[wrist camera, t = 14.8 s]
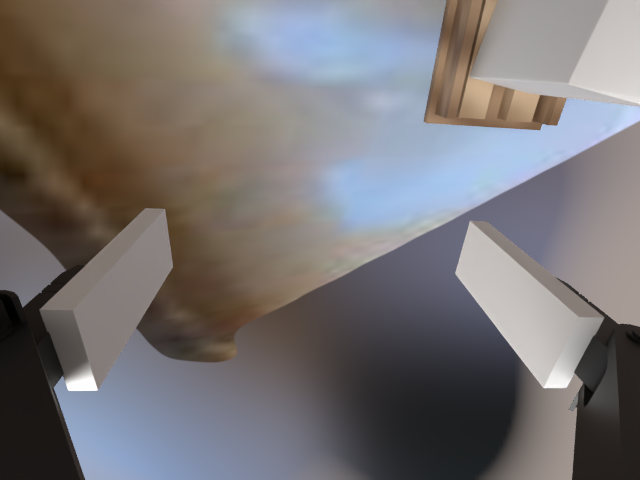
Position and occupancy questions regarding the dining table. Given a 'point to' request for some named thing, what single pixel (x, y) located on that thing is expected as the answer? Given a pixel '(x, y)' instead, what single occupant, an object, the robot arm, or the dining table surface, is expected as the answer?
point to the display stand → (475, 95)
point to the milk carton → (564, 49)
